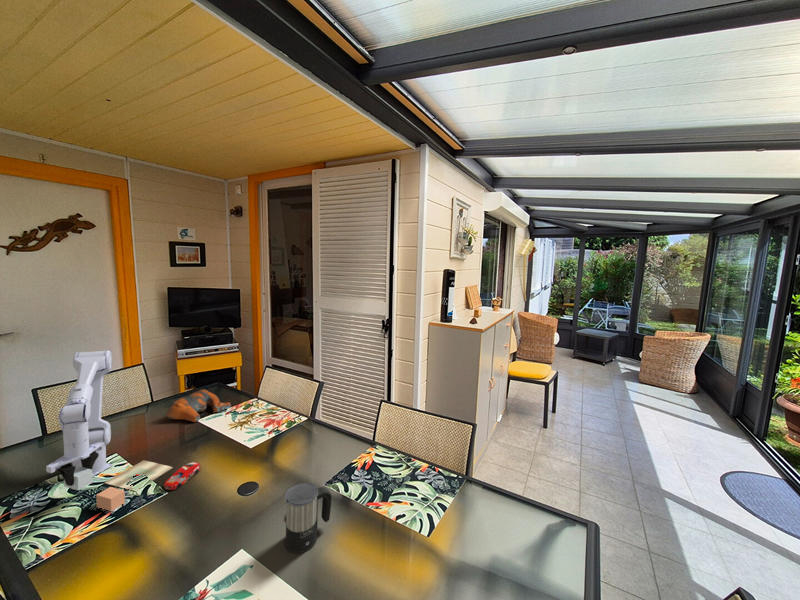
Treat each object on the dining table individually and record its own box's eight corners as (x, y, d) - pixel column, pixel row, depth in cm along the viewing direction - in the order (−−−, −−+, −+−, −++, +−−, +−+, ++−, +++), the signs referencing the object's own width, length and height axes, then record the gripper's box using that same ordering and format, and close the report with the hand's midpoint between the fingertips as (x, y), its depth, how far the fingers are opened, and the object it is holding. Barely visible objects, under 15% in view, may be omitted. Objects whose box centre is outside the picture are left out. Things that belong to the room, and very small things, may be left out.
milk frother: (298, 560, 89) (300, 510, 88) (262, 532, 98) (263, 486, 96) (335, 526, 101) (336, 482, 100) (300, 504, 110) (301, 463, 108)
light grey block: (64, 486, 105) (63, 473, 104) (79, 478, 109) (78, 466, 108) (78, 490, 103) (77, 477, 103) (92, 482, 107) (92, 469, 107)
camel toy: (161, 419, 157) (188, 432, 153) (170, 392, 159) (197, 403, 154) (204, 411, 181) (228, 421, 177) (211, 387, 183) (236, 397, 178)
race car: (173, 493, 112) (173, 482, 111) (160, 490, 113) (159, 479, 112) (203, 470, 125) (203, 460, 124) (191, 467, 126) (191, 458, 125)
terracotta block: (96, 508, 103) (96, 494, 103) (110, 499, 107) (110, 486, 107) (111, 512, 102) (111, 499, 102) (124, 503, 106) (124, 490, 106)
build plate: (104, 483, 114) (104, 482, 114) (143, 460, 128) (143, 460, 128) (135, 491, 111) (135, 491, 111) (172, 467, 125) (172, 467, 125)
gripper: (57, 455, 96) (59, 498, 98) (110, 431, 110) (112, 469, 112) (40, 451, 98) (42, 493, 99) (94, 428, 112) (96, 465, 113)
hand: (78, 480), depth 106 cm, fingers closed on light grey block, 4 cm apart
